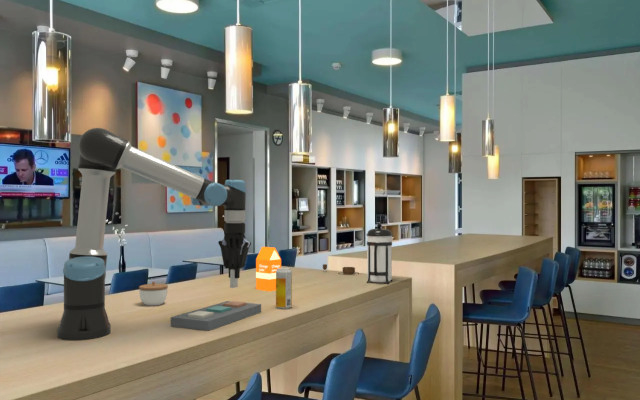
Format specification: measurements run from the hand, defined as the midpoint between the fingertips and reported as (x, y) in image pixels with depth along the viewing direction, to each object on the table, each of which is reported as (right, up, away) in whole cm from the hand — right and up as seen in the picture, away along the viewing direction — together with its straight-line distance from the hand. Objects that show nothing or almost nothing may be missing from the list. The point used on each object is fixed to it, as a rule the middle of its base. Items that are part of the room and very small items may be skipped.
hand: (233, 287), depth 198 cm
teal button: (-4, -9, -9) cm, 13 cm away
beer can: (+17, -10, +11) cm, 23 cm away
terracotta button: (0, -9, 0) cm, 9 cm away
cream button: (-8, -9, -18) cm, 22 cm away
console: (-4, -10, -9) cm, 14 cm away
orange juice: (+8, -10, +52) cm, 53 cm away
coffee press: (+61, -10, +72) cm, 95 cm away
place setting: (+45, -11, +109) cm, 118 cm away
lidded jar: (-34, -10, +16) cm, 39 cm away
